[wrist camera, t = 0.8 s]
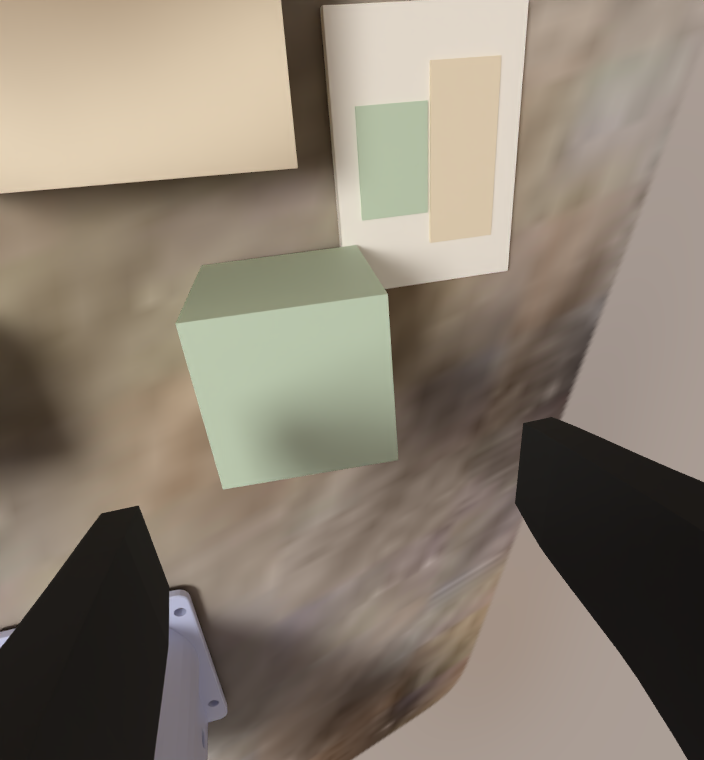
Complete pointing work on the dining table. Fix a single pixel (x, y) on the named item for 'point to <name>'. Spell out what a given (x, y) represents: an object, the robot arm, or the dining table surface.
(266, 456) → the sage green block
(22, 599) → the dining table surface
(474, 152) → the card
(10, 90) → the birch base block
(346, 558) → the dining table surface
